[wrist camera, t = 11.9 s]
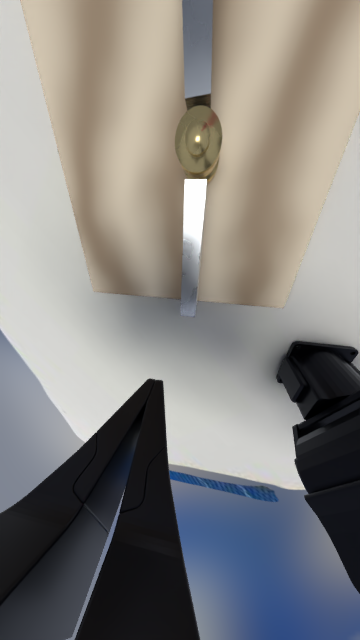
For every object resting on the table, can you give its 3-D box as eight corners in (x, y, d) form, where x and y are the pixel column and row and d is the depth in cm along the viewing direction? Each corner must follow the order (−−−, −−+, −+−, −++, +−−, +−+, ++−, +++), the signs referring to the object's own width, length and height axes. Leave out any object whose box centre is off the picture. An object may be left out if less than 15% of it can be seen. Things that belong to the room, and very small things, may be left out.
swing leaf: (216, 182, 12) (218, 167, 9) (186, 185, 12) (178, 172, 9) (230, -196, 6) (252, -617, 3) (174, -170, 7) (142, -525, 4)
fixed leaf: (185, 141, 11) (173, 100, 7) (220, 140, 11) (227, 97, 7) (180, 296, 17) (172, 317, 13) (203, 298, 17) (202, 320, 13)
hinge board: (490, -268, 6) (539, -353, 5) (279, 303, 17) (283, 308, 16) (-2, -141, 8) (-26, -184, 7) (98, 288, 19) (93, 291, 18)
